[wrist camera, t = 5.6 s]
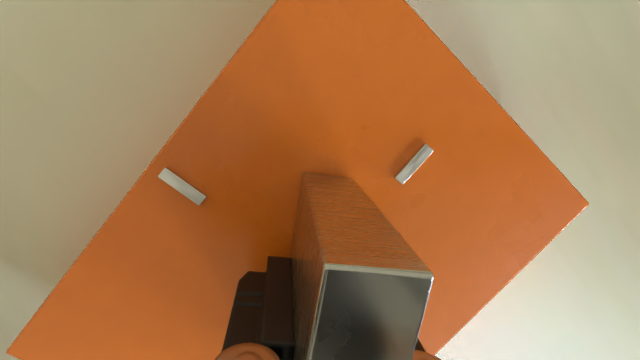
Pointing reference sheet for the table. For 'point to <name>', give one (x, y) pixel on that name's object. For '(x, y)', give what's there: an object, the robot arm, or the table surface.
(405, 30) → the orange flat rectangular block
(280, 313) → the robot arm
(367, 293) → the gray rectangular block
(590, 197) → the table surface
